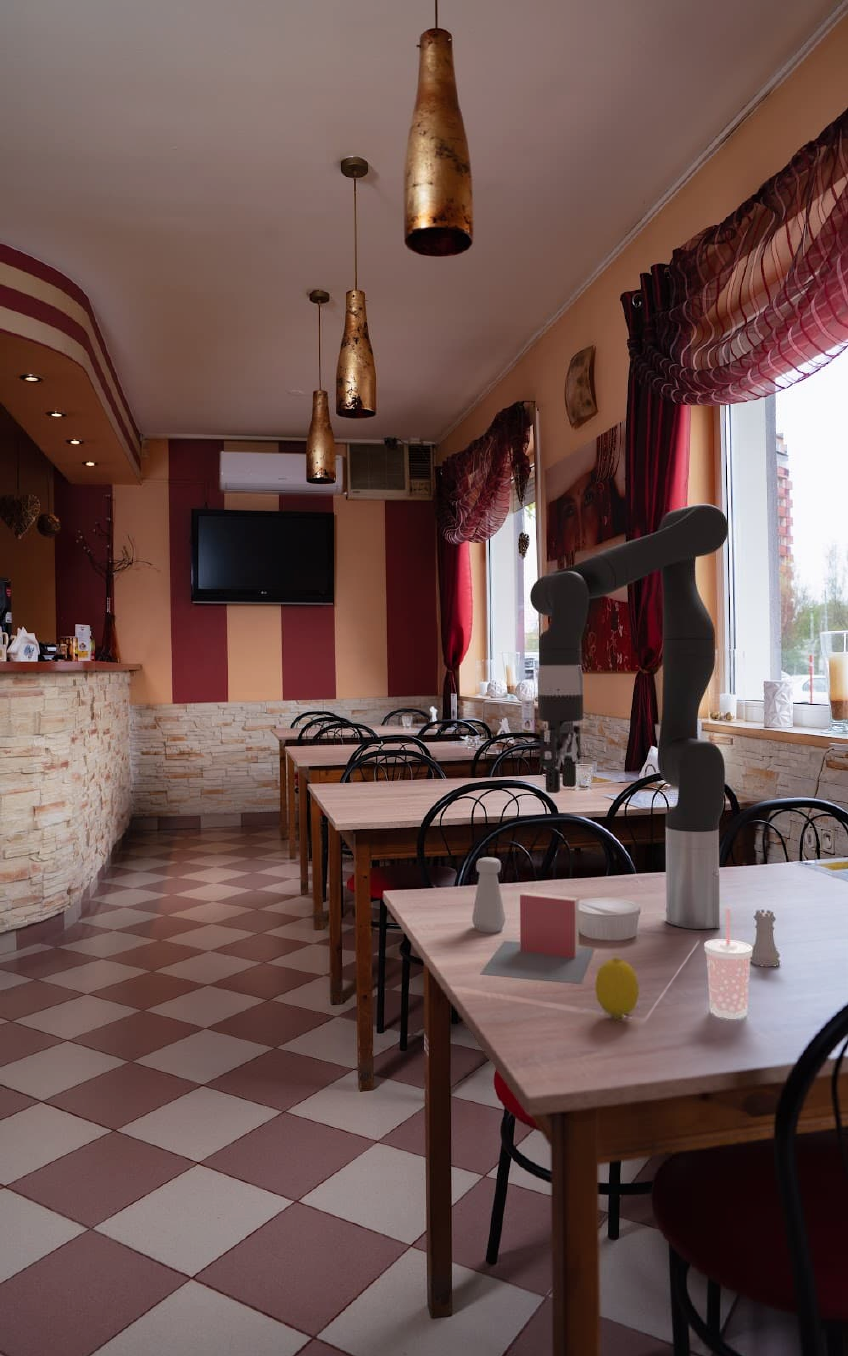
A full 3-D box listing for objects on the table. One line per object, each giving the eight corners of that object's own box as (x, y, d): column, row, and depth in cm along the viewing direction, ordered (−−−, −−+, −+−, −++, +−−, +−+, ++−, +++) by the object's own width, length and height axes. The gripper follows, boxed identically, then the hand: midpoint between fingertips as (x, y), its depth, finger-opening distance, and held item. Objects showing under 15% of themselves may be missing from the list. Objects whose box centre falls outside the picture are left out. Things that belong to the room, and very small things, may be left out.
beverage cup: (706, 1001, 122) (706, 900, 122) (753, 1008, 120) (753, 904, 120) (702, 1018, 117) (701, 911, 117) (751, 1024, 114) (751, 916, 114)
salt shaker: (503, 938, 152) (502, 862, 152) (470, 936, 154) (469, 861, 153) (507, 928, 158) (506, 855, 158) (475, 926, 159) (474, 854, 159)
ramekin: (568, 941, 151) (568, 910, 151) (581, 924, 161) (581, 895, 161) (635, 948, 146) (635, 916, 146) (644, 930, 157) (644, 900, 157)
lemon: (590, 1011, 119) (590, 951, 119) (631, 1009, 120) (630, 950, 120) (602, 1027, 114) (602, 965, 114) (644, 1025, 114) (644, 963, 114)
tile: (525, 946, 146) (525, 891, 146) (578, 954, 142) (578, 897, 141) (520, 950, 144) (520, 895, 143) (574, 958, 139) (573, 901, 139)
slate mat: (594, 952, 144) (594, 948, 144) (581, 987, 128) (581, 983, 128) (504, 944, 149) (504, 940, 149) (479, 977, 133) (479, 973, 133)
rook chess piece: (766, 969, 136) (766, 917, 136) (743, 961, 140) (743, 910, 139) (786, 964, 138) (786, 913, 138) (763, 956, 142) (763, 906, 142)
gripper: (568, 693, 141) (569, 796, 141) (594, 691, 153) (595, 785, 153) (523, 693, 144) (525, 793, 144) (552, 691, 157) (553, 783, 157)
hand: (561, 789), depth 149 cm, fingers open, 8 cm apart
